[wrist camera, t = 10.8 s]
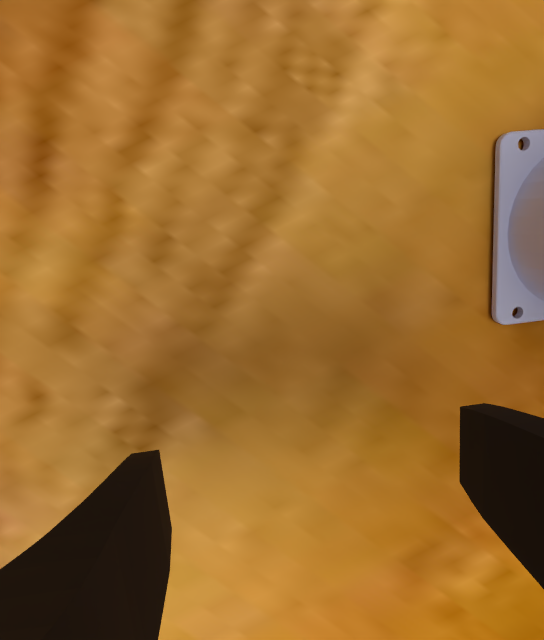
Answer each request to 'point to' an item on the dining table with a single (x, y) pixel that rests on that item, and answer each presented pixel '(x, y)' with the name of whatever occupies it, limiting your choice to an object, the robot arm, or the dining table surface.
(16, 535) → the dining table surface
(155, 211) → the dining table surface
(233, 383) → the dining table surface
